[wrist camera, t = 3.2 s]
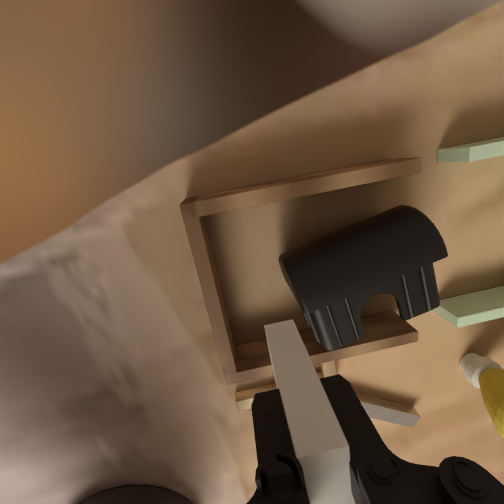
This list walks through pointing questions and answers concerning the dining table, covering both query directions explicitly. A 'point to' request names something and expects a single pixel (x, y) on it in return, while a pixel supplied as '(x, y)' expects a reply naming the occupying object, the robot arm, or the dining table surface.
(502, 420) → the light bulb
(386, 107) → the dining table surface
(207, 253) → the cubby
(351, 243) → the end cap
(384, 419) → the grey metal bar
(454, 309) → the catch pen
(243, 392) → the beech crook
